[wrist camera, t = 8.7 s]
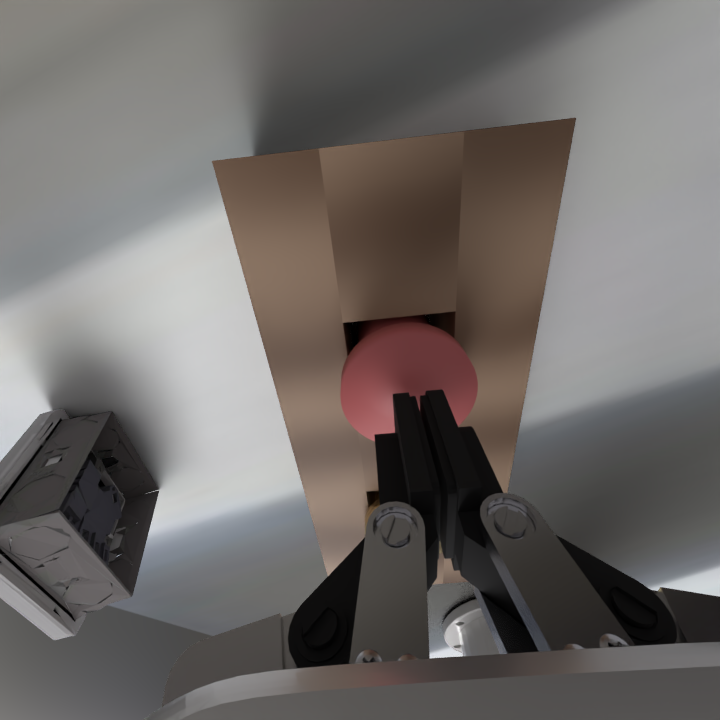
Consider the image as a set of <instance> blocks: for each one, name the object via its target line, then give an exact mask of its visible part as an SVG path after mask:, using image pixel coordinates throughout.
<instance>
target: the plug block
mask: <svg viewBox="0 0 720 720" xmlns="http://www.w3.org/2000/svg"><path fill="white" fill-rule="evenodd" d="M575 121H576V118H569V119H561V120H553V121H544V122H536V123H527V124H519V125H511V126H502V127H494V128H485V129H477V130H469V131H460V132H452V133H444V134H435V135H427V136H418V137H410V138H402V139H393V140H385V141H376V142H368V143H360V144H351V145H343V146H334V147H326V148H318V149H309V150H301V151H292V152H284V153H276V154H267V155H259V156H250V157H242V158H234V159H225V160H217V161H212V163H213V166H214V170H215V173H216V177H217V181H218V184H219V188H220V191H221V195H222V198H223V202H224V206H225V209H226V213H227V216H228V220H229V224H230V227H231V231H232V234H233V238H234V241H235V245H236V249H237V252H238V256H239V259H240V263H241V266H242V270H243V274H244V277H245V281H246V284H247V288H248V292H249V295H250V299H251V302H252V306H253V309H254V313H255V317H256V320H257V324H258V327H259V331H260V334H261V338H262V342H263V345H264V349H265V352H266V356H267V360H268V363H269V367H270V370H271V374H272V377H273V381H274V385H275V388H276V392H277V395H278V399H279V402H280V406H281V410H282V413H283V417H284V420H285V424H286V428H287V431H288V435H289V438H290V442H291V445H292V449H293V453H294V456H295V460H296V463H297V467H298V471H299V474H300V478H301V481H302V485H303V488H304V492H305V496H306V499H307V503H308V506H309V510H310V513H311V517H312V521H313V524H314V528H315V531H316V535H317V539H318V542H319V546H320V549H321V553H322V556H323V560H324V564H325V567H326V571H327V574H328V576H329V575H330V574H331V573H332V572H333V571H334V570H335V568H336V567H337V566H338V565H339V564H340V563H341V562H342V561H343V560H344V559H345V558H346V557H347V556H348V555H349V554H350V553H351V551H352V550H353V549H354V548H355V547H356V546H357V545H358V544H359V543H360V542H361V541H362V540H363V539H364V538H365V520H364V519H365V514H366V512H367V510H368V508H369V507H370V506H371V505H372V504H373V503H374V502H375V491H378V490H379V488H378V475H377V462H376V449H375V441H372V440H370V439H368V438H366V437H365V436H363V435H362V434H360V433H359V432H358V431H357V430H355V429H354V428H353V426H352V425H351V424H350V423H349V422H348V420H347V418H346V417H345V414H344V412H343V410H342V406H341V398H340V392H341V375H342V370H343V366H344V363H345V361H346V359H347V357H348V355H349V354H350V352H351V351H352V349H353V343H352V335H351V327H350V322H356V321H366V320H375V319H385V318H395V317H405V316H415V315H424V314H430V325H431V326H434V327H437V328H439V329H441V330H443V331H445V332H447V333H448V334H450V335H451V336H452V337H453V338H454V339H456V340H457V341H458V343H459V344H460V345H461V346H462V348H463V349H464V351H465V353H466V354H467V356H468V358H469V359H470V361H471V363H472V365H473V367H474V369H475V372H476V375H477V380H478V392H477V397H476V400H475V403H474V406H473V408H472V410H471V412H470V413H469V415H468V416H467V417H466V419H465V420H464V421H463V422H462V423H461V424H460V425H459V426H458V427H466V426H472V427H473V429H474V430H475V432H476V435H477V437H478V439H479V441H480V443H481V445H482V447H483V450H484V452H485V454H486V456H487V458H488V460H489V462H490V465H491V467H492V469H493V471H494V473H495V475H496V478H497V480H498V482H499V484H500V486H501V488H502V490H503V493H507V491H508V486H509V480H510V475H511V469H512V464H513V458H514V453H515V447H516V442H517V437H518V431H519V426H520V420H521V415H522V409H523V404H524V399H525V393H526V388H527V382H528V377H529V371H530V366H531V360H532V355H533V350H534V344H535V339H536V333H537V328H538V322H539V317H540V311H541V306H542V301H543V295H544V290H545V284H546V279H547V273H548V268H549V262H550V257H551V252H552V246H553V241H554V235H555V230H556V224H557V219H558V214H559V208H560V203H561V197H562V192H563V186H564V181H565V175H566V170H567V165H568V159H569V154H570V148H571V143H572V137H573V132H574V126H575ZM457 582H468V581H467V580H466V579H464V578H463V577H462V576H461V574H460V570H458V571H454V569H453V565H452V561H451V559H445V558H444V556H443V553H441V554H439V559H438V566H437V579H436V580H435V582H434V583H433V584H444V583H457Z"/></svg>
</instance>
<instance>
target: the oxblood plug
mask: <svg viewBox="0 0 720 720" xmlns="http://www.w3.org/2000/svg"><path fill="white" fill-rule="evenodd" d="M357 335H358V344H357V345H356V346H355V347H354V348H353V349H352V351H351V352H350V354H349V355H348V357H347V359H346V361H345V363H344V366H343V370H342V375H341V392H340V398H341V406H342V410H343V412H344V414H345V417H346V418H347V420H348V422H349V423H350V424H351V425H352V426H353V428H354V429H355V430H357V431H358V432H359V433H360V434H362V435H363V436H365V437H366V438H368V439H370V440H372V441H375V436H374V434H386V433H395V425H394V410H393V394H395V393H406V392H409V395H410V396H416V399H417V403H418V407H419V410H420V395H425V392H426V391H428V390H439V389H442V390H443V391H444V393H445V396H446V398H447V401H448V403H449V406H450V408H451V411H452V413H453V416H454V418H455V420H456V423H457V425H458V426H459V425H460V424H461V423H462V422H463V421H464V420H465V419H466V417H467V416H468V415H469V413H470V412H471V410H472V408H473V406H474V403H475V400H476V397H477V392H478V380H477V375H476V372H475V369H474V367H473V365H472V363H471V361H470V359H469V358H468V356H467V354H466V353H465V351H464V349H463V348H462V346H461V345H460V344H459V343H458V341H457V340H456V339H454V338H453V337H452V336H451V335H450V334H448V333H447V332H445V331H443V330H441V329H439V328H437V327H434V326H431V325H430V323H429V321H428V319H427V317H426V315H425V314H424V315H415V316H405V317H395V318H385V319H375V320H366V321H358V322H357Z"/></svg>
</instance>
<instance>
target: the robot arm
mask: <svg viewBox="0 0 720 720" xmlns="http://www.w3.org/2000/svg"><path fill="white" fill-rule="evenodd" d="M393 410H394V425H395V433H386V434H374V436H375V449H376V462H377V475H378V488H379V501H380V506H378V507H377V508H376V509H374V510H373V512H372V513H371V515H370V516H369V518H368V522H367V526H366V534H365V538H364V539H363V540H362V541H361V542H360V543H359V544H358V545H357V546H356V547H355V548H354V549H353V550H352V551H351V553H350V554H349V555H348V556H347V557H346V558H345V559H344V560H343V561H342V562H341V563H340V564H339V565H338V566H337V567H336V568H335V570H334V571H333V572H332V573H331V574H330V575H329V576H328V577H327V578H326V579H325V580H324V581H323V582H322V583H321V584H320V585H319V586H318V588H317V589H316V590H315V591H314V592H313V593H312V594H311V595H310V596H309V597H308V598H307V599H306V600H305V601H304V602H303V603H302V605H301V606H300V607H299V609H298V610H297V611H296V612H294V613H292V614H289V615H286V616H283V617H281V614H277V615H274V616H271V617H268V618H265V619H262V620H259V621H256V622H253V623H250V624H247V625H244V626H241V627H239V628H236V629H233V630H230V631H227V632H224V633H221V634H218V635H215V636H212V637H209V638H207V639H204V640H201V641H199V642H197V643H195V644H193V645H192V646H190V647H189V648H188V649H187V650H186V651H185V652H184V653H183V654H182V655H181V656H180V657H179V658H178V659H177V661H176V663H175V664H174V666H173V667H172V669H171V671H170V673H169V676H168V680H167V682H166V686H165V691H164V696H163V702H162V707H161V708H160V709H158V710H156V711H155V712H153V713H152V714H150V715H149V716H148V717H147V718H145V719H144V720H720V597H718V596H712V595H706V594H700V593H693V592H687V591H681V590H675V589H669V588H663V587H660V589H659V590H658V591H654V590H650V589H649V588H647V587H646V586H644V585H643V584H641V583H640V582H638V581H637V580H635V579H633V578H631V577H629V576H628V575H626V574H624V573H622V572H621V571H619V570H617V569H615V568H613V567H612V566H610V565H608V564H606V563H605V562H603V561H601V560H599V559H598V558H596V557H594V556H592V555H590V554H589V553H587V552H585V551H583V550H582V549H580V548H578V547H576V546H574V545H573V544H571V543H569V542H567V541H566V540H564V539H562V538H560V537H559V536H557V535H555V534H554V532H553V531H552V529H551V528H550V527H549V525H548V524H547V523H546V521H545V520H544V518H543V517H542V516H541V514H540V513H539V511H538V510H537V509H536V508H535V507H534V506H533V505H532V504H531V503H529V502H528V501H526V500H525V499H524V498H521V497H519V496H517V495H514V494H509V493H503V490H502V488H501V486H500V484H499V482H498V480H497V478H496V475H495V473H494V471H493V469H492V467H491V465H490V462H489V460H488V458H487V456H486V454H485V452H484V450H483V447H482V445H481V443H480V441H479V439H478V437H477V435H476V432H475V430H474V429H473V427H472V426H466V427H458V425H457V423H456V420H455V418H454V416H453V413H452V411H451V408H450V406H449V403H448V401H447V398H446V396H445V393H444V391H443V390H442V389H439V390H428V391H426V392H425V395H420V410H419V407H418V403H417V399H416V396H410V395H409V392H406V393H395V394H393ZM440 543H441V548H442V552H443V556H444V558H445V559H451V561H452V565H453V569H454V571H458V570H460V574H461V576H462V577H463V578H464V579H466V580H467V581H468V582H470V583H471V584H472V587H473V591H474V594H475V596H476V599H474V600H471V601H469V602H466V603H464V604H462V605H460V606H459V607H457V608H456V609H454V610H453V611H452V612H451V613H450V614H449V615H448V616H447V617H446V619H445V620H444V622H443V626H442V627H443V633H444V638H445V641H446V643H447V644H448V645H449V646H450V647H451V648H453V649H454V650H456V651H459V652H461V653H463V657H447V658H432V659H429V631H428V602H427V592H428V590H429V589H430V587H431V586H432V584H433V583H434V582H435V580H436V579H437V566H438V559H439V546H440Z"/></svg>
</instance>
